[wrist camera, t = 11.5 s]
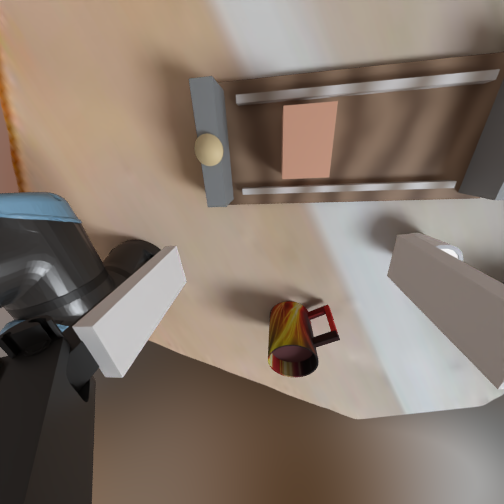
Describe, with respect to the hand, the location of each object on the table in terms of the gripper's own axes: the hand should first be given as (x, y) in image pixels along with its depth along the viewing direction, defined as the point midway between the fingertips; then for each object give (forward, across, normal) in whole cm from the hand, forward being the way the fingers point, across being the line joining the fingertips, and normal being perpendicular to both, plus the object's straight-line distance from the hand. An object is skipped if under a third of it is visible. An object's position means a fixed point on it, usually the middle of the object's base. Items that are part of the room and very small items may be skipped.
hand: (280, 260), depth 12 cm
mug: (+27, +4, -29) cm, 39 cm away
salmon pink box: (+25, +5, +7) cm, 26 cm away
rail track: (+26, +11, +7) cm, 29 cm away
